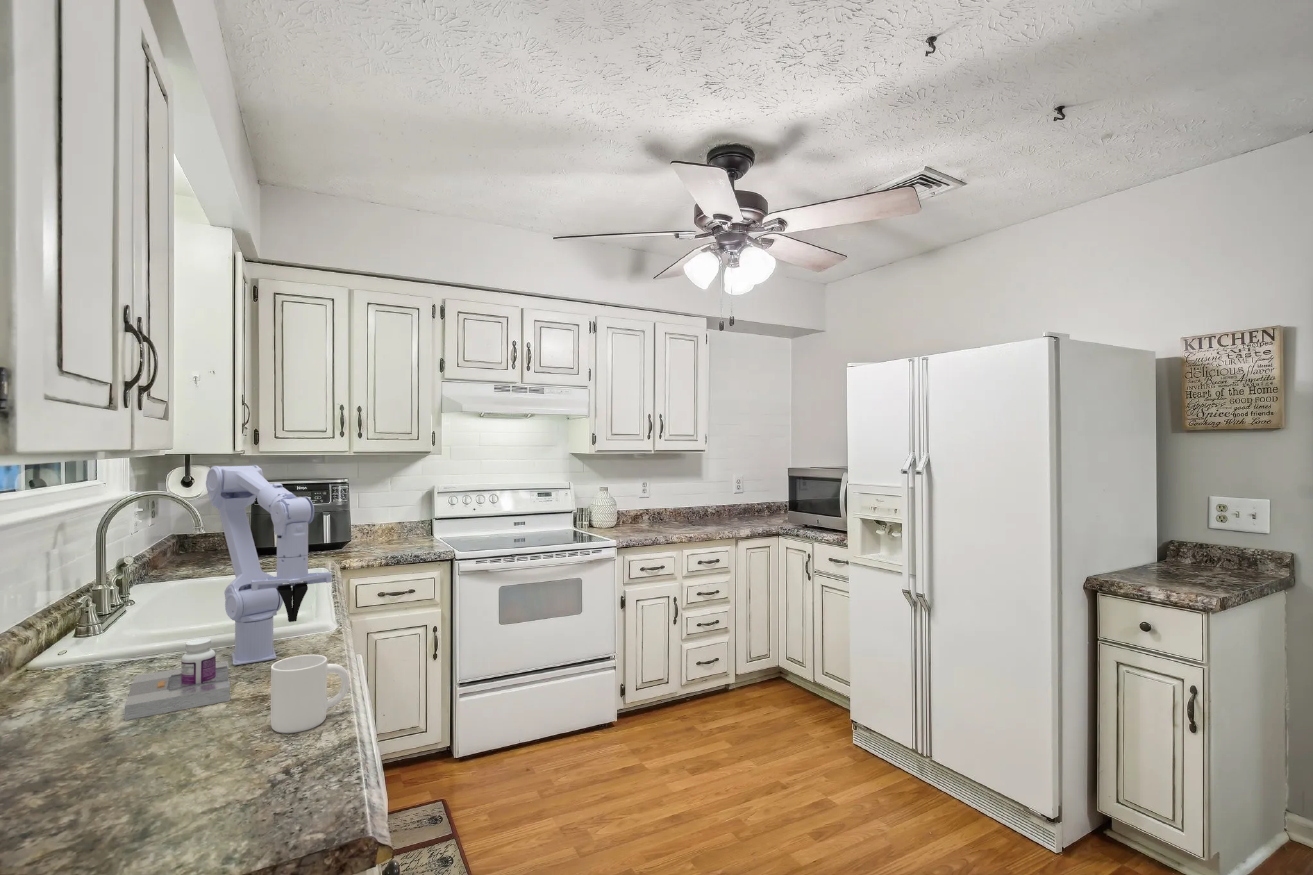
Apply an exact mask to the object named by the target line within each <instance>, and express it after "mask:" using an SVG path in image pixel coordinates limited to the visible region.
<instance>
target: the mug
mask: <svg viewBox="0 0 1313 875" xmlns="http://www.w3.org/2000/svg"><path fill="white" fill-rule="evenodd" d="M333 673H334V674H337V675H338V676H339V678H340V681H341V682H340V689H339V691H338V692H337V694H336V695H335V696H333V697H330V698H328V674H333ZM350 683H351V682H350V675H349V673H348V671H347V669H346V668H345V667H344V666H342V665H341V664H337V663H328V658H327V656H325V655H321V654H302V655H296V656H295V655H294V656H289V657H286V658H282V659H281V660H278V661H275V662H274V663H272V664H271V666H270V727H271V728H272V730H273V731H275V732H276V733H279V734H294V733H300V732H305V731H308V730H312V729H314V728H316V727H318V726H319V725H321V724H322V723H323V722H325V720H326V717H327V711H328V710H327V709H328V708H332V707H334V706H336V705H338V704H339V703H340V702H342V701H343V700H344V699H345V697H346V695H347V694H348V691H349V688H350Z"/></svg>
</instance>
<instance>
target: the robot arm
mask: <svg viewBox="0 0 1313 875" xmlns="http://www.w3.org/2000/svg"><path fill="white" fill-rule="evenodd" d="M283 486H284V485H283V484H282V483H280V482H277V483H275V482H274V483H270V482H269V481H268V480H267V479H266V478H265V477H264V473H263V469H262V468H260V466H258V465H257V464H253V465H239V466H238V465H233V466H232V465H231V466H230V465H229V466H228V465H227V466H222V465H221V466H219V465H213V466H211V467H210V469H209V470H208V472H207V474H206V481H205V487H206V492H207V495H208V499H209V501H210V505H211V507H213V508H215V509H217V510H218V513H219V518H220V522H221V526H222V528H223V533H224V536H225V541H226V545H227V550H228V553H229V556H230V557H229V558H230V561H231V564H232V565H231V566H232V568H233V573H234V576H235V578H234V579H233V580H232V581H231V582H230V583H229V584H228V585H227V586H226V588H225V590H224V600H225V602H224V607H225V612H226V615H227V616H228V618H229V619H231V621H234V652H232V653H231V657H232V666H240V665H245V664H247V665H248V664H251V663H253V664H254V663H258V662H264V661H270V660H271V661H272V660H276V659H277V654H276V651H275V648H274V617H275V616H277V615H278V613H277V612H279V611H280V610H281V608H282V606H283V604H284V607H285V609H286V615H287V621H288V623H292V622H293V623H294V622H297V621H298V620H297V619H298V613H299V610H300V607H301V605H302V602H303V600H304V598H305V596H306V594H307V592H308V589H309V586H308V585H313V584H323V583H324V584H325V583H326V584H328V583H332V580H333V579H332V578H333V577H332V575H333V573H331V572H330V571H327V572H310V573H309V524H311V523H312V522H313V520H314V517H315V506H314V503H313V501H312V499H310V497H309V496H302V497H297V496H296V495H295V494H294V493H293V492H291V491H289V490H288V489H286V487H283ZM255 501H257V503H258V505H259V506H260V507H261V508H263V510H265V511H266V512H267V513H269V514H270V519H271V521H272V524H273V532H274V535H276V576H273V575H271V574H269V573H267V572H265V571H264V570H262V567H261V564H260V563H261V562H260V559H259V557H258V552H257V548H256V546H255V541H254V538H253V533H252V530H251V527H250V526H251V525H250V523H249V518H248V515H247V514H248V513H247V511H246V508H247V507H249V506H250V505H252V504H254V503H255Z"/></svg>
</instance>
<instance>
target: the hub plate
mask: <svg viewBox="0 0 1313 875" xmlns="http://www.w3.org/2000/svg"><path fill="white" fill-rule="evenodd" d="M229 667H230V666H229V660H225V661H219V662H216V680H215V681H210V682H204V683H198V684H192V685H186V686H182V684H181V668H175V669H174V668H173V669H167V670H162V671H161V670H160V671H156V672H149V673H144V674H137V675H136V674H135V675H134V677H133V681H132V683H131V686H130V689H129V693H128V695H127V698H126V701H125V704H124V721H130V720H134V719H139V718H144V717H145V718H146V717H152V716H157V715H161V714H165V713H172V712H178V711H182V710H188V709H193V708H199V707H204V706H209V705H215V704H221V703H225V702H230V701H231V682H230V681H231V680H230V679H229Z"/></svg>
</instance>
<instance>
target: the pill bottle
mask: <svg viewBox="0 0 1313 875" xmlns="http://www.w3.org/2000/svg"><path fill="white" fill-rule="evenodd" d="M211 647H212V639H211V638H208V637H207V638H205V637H204V638H197V639H192V640H189V641H186V643H185V651H186V652H185V653H184V654H183V655H182V656H181V659H180V660H181V661H180V662H181V664H180V665H181V684H182V686H186V685H192V684H198V683H204V682H210V681H215V680H216V663H217V662H216V661H217V660H216V657H217V656H216V655H217V654H216V652H215V650H214V649H212V648H211Z"/></svg>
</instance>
